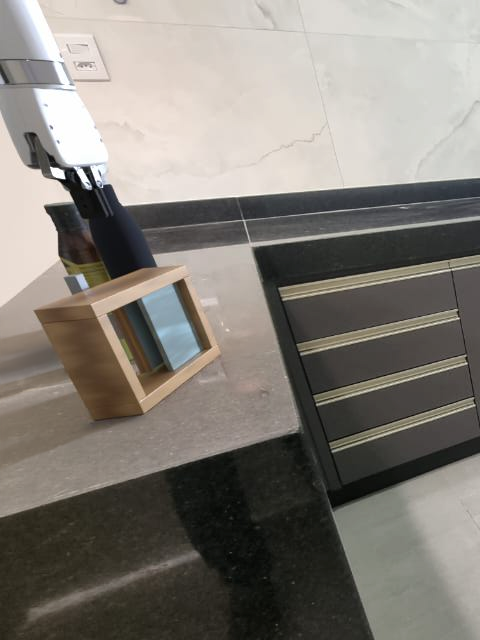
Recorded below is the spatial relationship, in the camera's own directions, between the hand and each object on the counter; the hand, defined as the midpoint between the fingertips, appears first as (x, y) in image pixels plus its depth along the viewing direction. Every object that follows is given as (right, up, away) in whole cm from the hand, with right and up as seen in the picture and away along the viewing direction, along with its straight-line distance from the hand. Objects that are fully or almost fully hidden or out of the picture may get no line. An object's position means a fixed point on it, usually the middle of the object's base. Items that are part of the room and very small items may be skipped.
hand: (98, 217), depth 79 cm
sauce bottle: (-13, -14, +16) cm, 25 cm away
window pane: (+17, -22, -10) cm, 29 cm away
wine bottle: (-6, -14, +15) cm, 21 cm away
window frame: (+20, -24, -12) cm, 34 cm away
